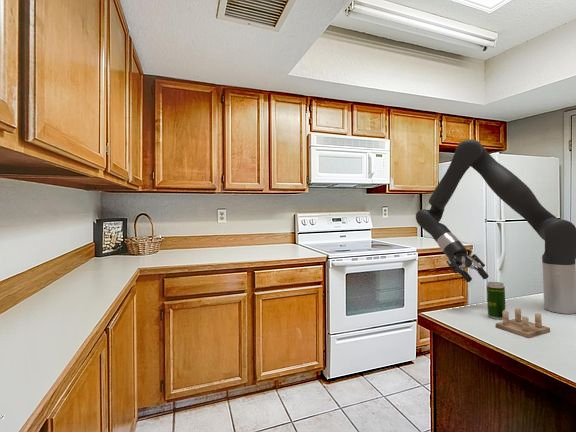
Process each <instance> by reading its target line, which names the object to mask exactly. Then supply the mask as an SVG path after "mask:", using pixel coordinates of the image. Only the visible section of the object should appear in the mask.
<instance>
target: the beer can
mask: <svg viewBox="0 0 576 432" xmlns="http://www.w3.org/2000/svg"><path fill="white" fill-rule="evenodd" d="M486 283H487V284H486V300H487V301H486V305H487V315H488V317H489V318H491V319H493V320H499V321H500V320H503V313H502V312H503V311H506V312H507V310H506V309H507V308H506V307H507V306H506V289H505V283H503V282H500V281H499V282H498V281H488V282H486Z"/></svg>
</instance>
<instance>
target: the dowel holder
mask: <svg viewBox="0 0 576 432" xmlns="http://www.w3.org/2000/svg"><path fill="white" fill-rule="evenodd" d="M502 313H503V319H502V321H499V322H497V323H495V328H497V329H500V330H503V331H506V332H509V333H512V334H515V335H518V336H522V337H524V338H527V339H531V338H533V337H537V336H538V337H539V336H541V335H544V334H547V333H550V332H551V328H550V327H548V326H544V325H543V324H542V323H543V322H542V314H541V313H534V322H530V321H529V320H530V319H529V317H528V316H522V309H521V308H520V307H519V308H517V307H516V308H514V314H515V315H514V317H515V318H513V319H510V316H509V311H507V310H506V311H503V312H502Z"/></svg>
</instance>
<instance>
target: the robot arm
mask: <svg viewBox="0 0 576 432" xmlns="http://www.w3.org/2000/svg"><path fill="white" fill-rule="evenodd" d="M469 168H473V170H475V171H476V172H477V173H478V174H479V175H480V176H481V178H482V179H483V181H484V182H485V183H486V184H487V186H488V187H489V188H490V189H491V191H492V192H493V193H494V194H495V195H496V196H497V197H498V198H499V199H500V200H502V201H503V203H504V204H506V205H507V206H508V207H510V209H512V210H513V211H514V212H515V213H516V214H518V215H519V216H521V217H522V218H523V219H524V220H525V221H527V223H528V224H529V225H530V227H532V229H533V230H534V231H535V233H536V234H537V235H538V236H539V237H540V238H541V240H543V241H544V251H543V252H544V253H543V254H542V255H541V259H542V261H541V262H542V282H543V286H542V287H543V308H544V309H545V310H547V312H548V311H549V312H551V313H552V312H553V313H558V314H564V315H569V314H570V315H573V314H576V226H575V225H574V223H572V222H571V221H569V220H566V219H562V218H561V219H560V218H558V217H556V216H555V215H554V214H553V213H551V212H550V211H548V210H547V209H546V207H544V206H543V205H542V203H540V201H539V200H538V198H537V197H536V195H535V193H534V192H533V191H532V189H531V188H530V187H529V186H528V185H527V184H526V183H525V182H524V181H522V179H520V177H519V176H517V175H516V174H515V173H513V172H512V171H511V170H509V169H508V168H507V167H505V166H504V165H502V164H501V163H499V162H498V161H497V160H496V159H495V158H494V157H493V156H492V155H491V154H490V153H489V152H488V150H487V149H486V148H485V147H484V146H483V145H482V142H480V141H478V140H477V139H472V138H471V139H465V140H463V141H461V142H460V143H458V145H457V146H456V148H455V151H454V154H453V156H452V159H451V162H450V164H449V166H448V167H447V170H446V172H445V173H444V175H443V177H442V178H441V180H440V181H439V182H438V183H437V185H436V187H435V188H434V190H433V192H432V194H431V195H430V197H429V199H428V203H429V204H430V209H426V208H423V209H419V210H418V211H417V212H416V213H415V220H416V223H417V224H418V226H419V227H420V228H422V230H424V231H425V232H426V233H428V234H429V235H430V236H431V237H432V239H433V240H434V241H435V242H436V243H437V246H438V247H439V249H441V251H442V252H443V253H444V255H445V256H446V257H447V258H448V259H447V260H446V264H447V265H448V266H449V268H450V269H451V271H452V272H453V274H455V275H457V274H459V275H461V277H462V278H463V279H464V280H465V281H466V282H467V283H470V282H471V281H472V280H473V278H472V277H471V275H470V274H469V273H468V272H467V270H466V268H469V269H470V270H475V271H476V272H477V273H478V275H479V276H480V277H481V278H482V279H483V280H487V279H488V278H489V275H488V273H487V272H486V271H485V269H484V268H485V266H486V264H485V263H484V262H483V261H482V260H481V259H480V258H479V256H478V255H476V254H475V253H473V254H472V255H470V254H468V249H467V248H466V247H465V246H464V244H463V243H462V241H460V239H458V237H457V236H456V235H455V234H453V232H452V231H451V230H450V229H449V228H448V226H447V225H445V224H444V223H442V222H441V219H442V218H443V214H444V212H445V208H446V206H447V205H448V203H449V201H450V200H451V198H452V197H453V195H454V194H455V191H456V189H457V187H458V185H459V183H460V182H461V180H462V178H463V177H464V175H465V173H466V172H467V171H468V170H469Z"/></svg>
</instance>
